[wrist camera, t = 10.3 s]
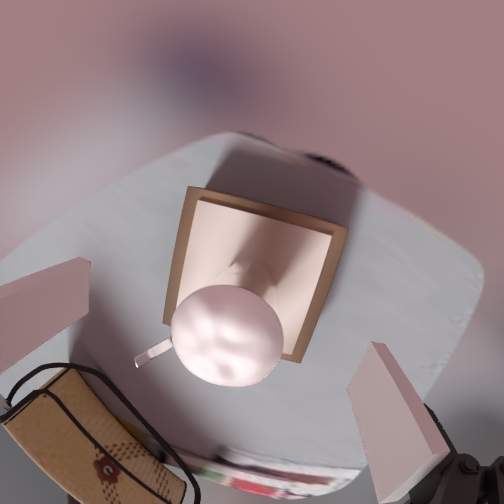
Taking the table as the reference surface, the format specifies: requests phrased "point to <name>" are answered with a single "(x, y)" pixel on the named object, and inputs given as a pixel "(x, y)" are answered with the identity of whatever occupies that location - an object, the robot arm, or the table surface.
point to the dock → (257, 256)
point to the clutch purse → (90, 443)
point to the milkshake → (227, 328)
